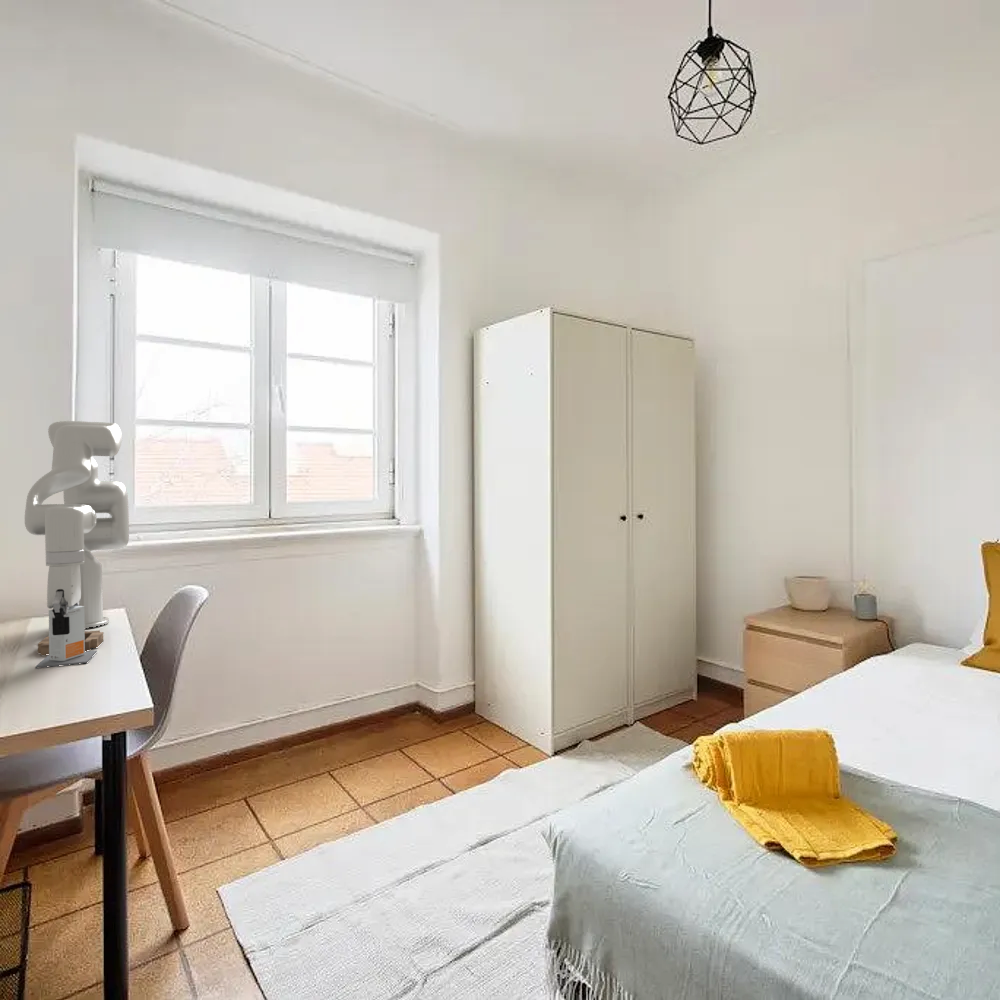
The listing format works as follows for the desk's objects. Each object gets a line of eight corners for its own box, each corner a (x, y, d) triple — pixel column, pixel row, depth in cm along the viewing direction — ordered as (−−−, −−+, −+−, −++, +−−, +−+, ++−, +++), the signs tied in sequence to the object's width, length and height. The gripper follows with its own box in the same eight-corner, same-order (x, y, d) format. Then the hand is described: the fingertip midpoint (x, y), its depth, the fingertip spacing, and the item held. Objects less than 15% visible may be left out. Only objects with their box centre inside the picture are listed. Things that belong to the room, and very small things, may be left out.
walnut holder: (49, 643, 162) (49, 634, 162) (105, 639, 167) (105, 629, 167) (34, 656, 151) (34, 646, 150) (94, 651, 155) (94, 641, 155)
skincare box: (63, 661, 144) (62, 610, 144) (48, 660, 145) (47, 610, 145) (86, 654, 150) (85, 605, 150) (71, 653, 151) (70, 604, 151)
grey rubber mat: (48, 656, 150) (48, 654, 150) (96, 652, 154) (96, 650, 154) (35, 668, 141) (35, 666, 141) (87, 663, 145) (87, 661, 145)
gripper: (56, 554, 153) (58, 623, 154) (34, 563, 137) (36, 640, 138) (92, 553, 156) (93, 620, 157) (74, 561, 140) (76, 636, 141)
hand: (66, 629), depth 147 cm, fingers open, 9 cm apart
